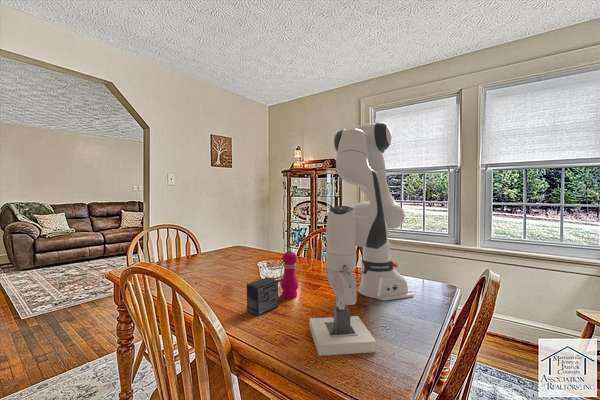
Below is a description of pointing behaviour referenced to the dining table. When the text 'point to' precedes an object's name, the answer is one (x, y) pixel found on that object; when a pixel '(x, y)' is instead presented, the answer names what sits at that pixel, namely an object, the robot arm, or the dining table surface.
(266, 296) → the small box
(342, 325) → the plug
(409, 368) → the dining table surface
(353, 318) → the socket
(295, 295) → the pepper mill
